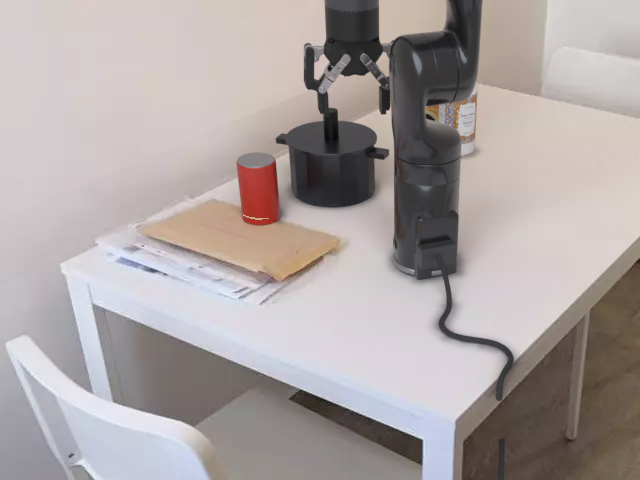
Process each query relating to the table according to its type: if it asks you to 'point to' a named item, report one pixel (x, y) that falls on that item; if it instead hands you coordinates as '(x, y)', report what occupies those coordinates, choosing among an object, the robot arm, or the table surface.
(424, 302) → the table surface
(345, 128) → the pot lid
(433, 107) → the pastry
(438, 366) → the table surface
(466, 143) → the bath foam
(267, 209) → the tomato can
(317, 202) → the pot
